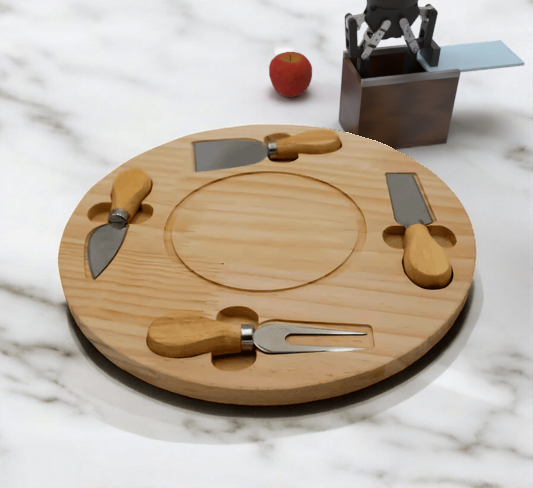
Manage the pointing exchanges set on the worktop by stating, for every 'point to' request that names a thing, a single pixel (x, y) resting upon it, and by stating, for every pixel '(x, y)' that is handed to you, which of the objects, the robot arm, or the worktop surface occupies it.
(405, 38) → the robot arm
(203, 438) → the worktop surface
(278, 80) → the apple
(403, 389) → the worktop surface
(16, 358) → the worktop surface
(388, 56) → the case
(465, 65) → the pane
